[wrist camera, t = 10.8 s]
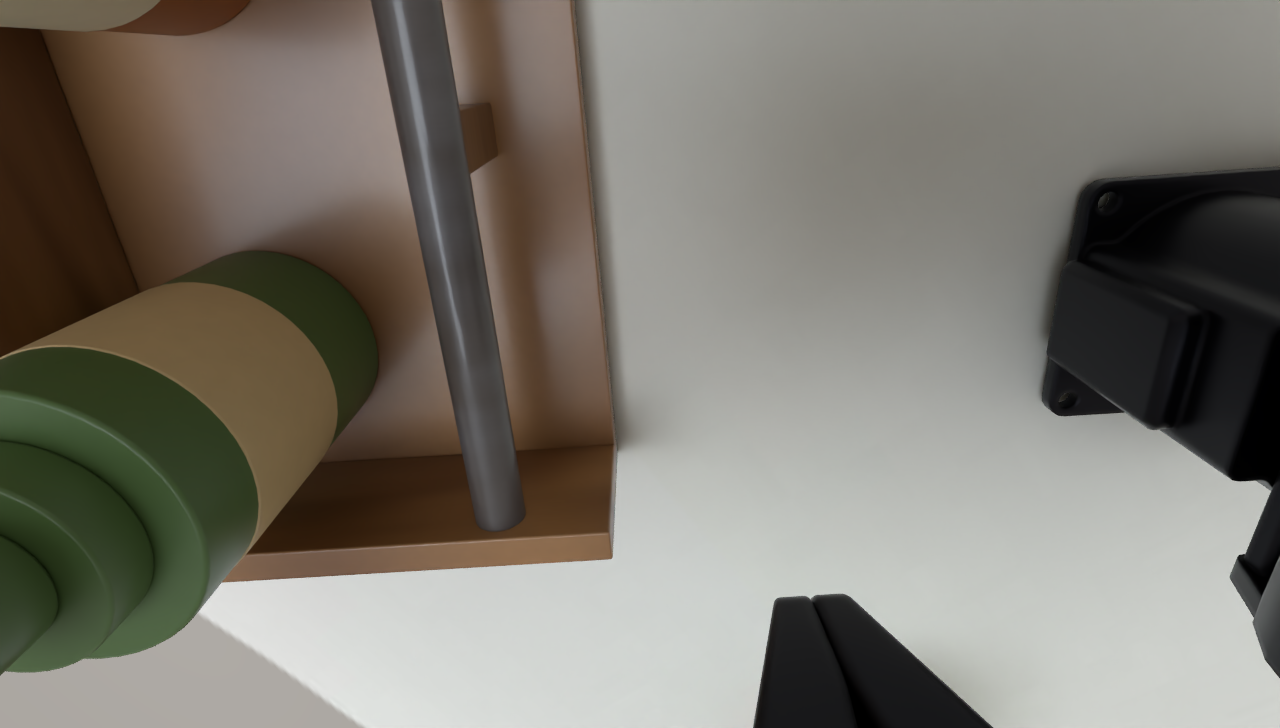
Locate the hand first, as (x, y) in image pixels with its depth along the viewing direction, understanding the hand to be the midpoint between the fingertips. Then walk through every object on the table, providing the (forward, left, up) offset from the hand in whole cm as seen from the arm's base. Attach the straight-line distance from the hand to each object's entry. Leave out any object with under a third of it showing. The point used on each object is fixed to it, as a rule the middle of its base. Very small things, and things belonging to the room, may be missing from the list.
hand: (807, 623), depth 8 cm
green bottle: (+8, 0, -10) cm, 13 cm away
